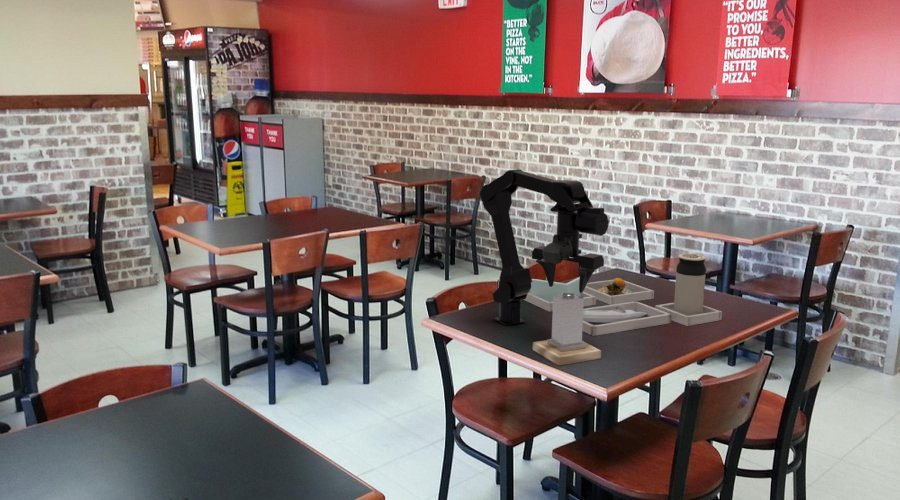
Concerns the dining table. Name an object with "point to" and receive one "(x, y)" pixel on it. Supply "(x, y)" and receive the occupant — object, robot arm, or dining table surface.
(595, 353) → the stand
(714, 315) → the mug tray rim
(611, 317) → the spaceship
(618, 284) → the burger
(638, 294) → the tray
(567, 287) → the right angle wall
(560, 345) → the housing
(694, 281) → the travel mug
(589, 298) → the coaster tray rim
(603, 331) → the casing tray rim
